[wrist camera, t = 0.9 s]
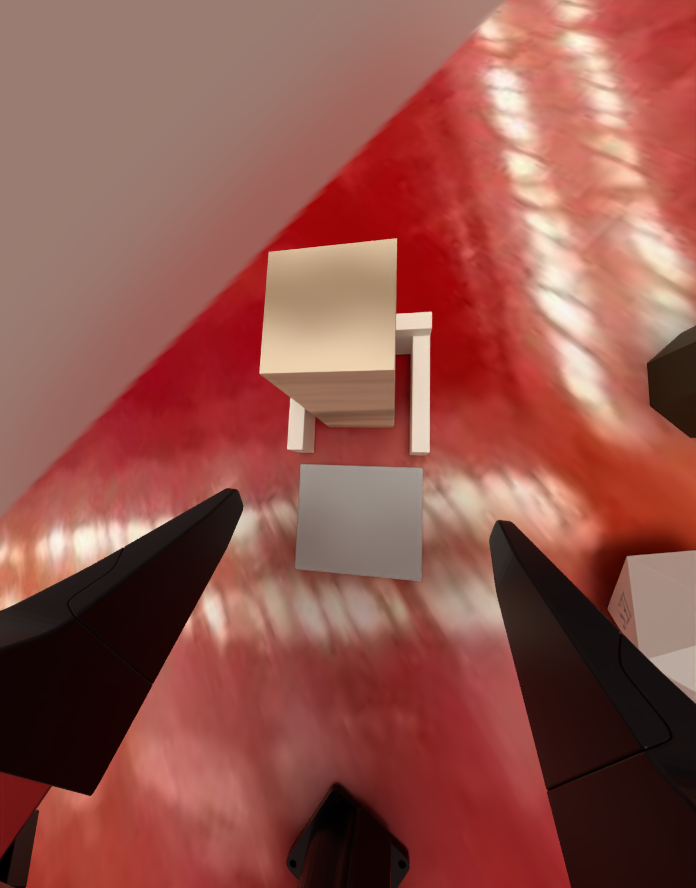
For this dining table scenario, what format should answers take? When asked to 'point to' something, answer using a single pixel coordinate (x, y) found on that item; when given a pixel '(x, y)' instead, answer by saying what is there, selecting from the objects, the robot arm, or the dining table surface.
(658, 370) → the wine bottle
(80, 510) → the dining table surface
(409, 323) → the white angular bracket
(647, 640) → the die
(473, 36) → the dining table surface
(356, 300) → the birch block
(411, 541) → the grey pad
